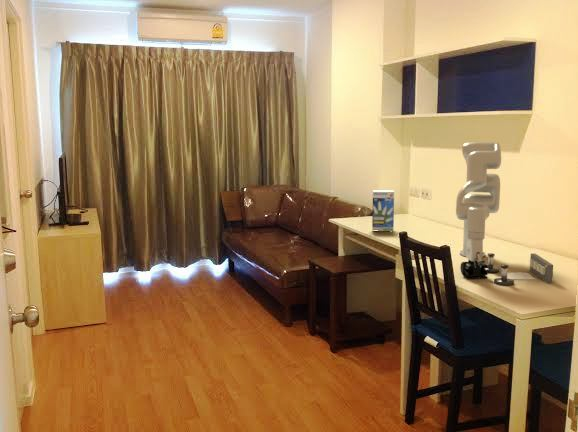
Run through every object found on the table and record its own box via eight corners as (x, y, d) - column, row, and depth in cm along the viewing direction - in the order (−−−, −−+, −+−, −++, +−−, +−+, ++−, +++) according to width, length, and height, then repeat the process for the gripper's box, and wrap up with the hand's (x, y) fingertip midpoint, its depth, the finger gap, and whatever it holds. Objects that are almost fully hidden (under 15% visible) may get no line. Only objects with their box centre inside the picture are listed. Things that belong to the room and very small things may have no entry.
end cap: (480, 273, 249) (481, 259, 248) (488, 278, 243) (489, 263, 241) (459, 274, 248) (460, 260, 247) (466, 279, 241) (467, 264, 240)
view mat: (500, 273, 249) (500, 272, 249) (527, 273, 249) (527, 272, 248) (507, 279, 239) (507, 279, 239) (535, 279, 239) (535, 278, 239)
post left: (478, 268, 258) (479, 252, 257) (495, 268, 258) (496, 252, 257) (485, 273, 250) (485, 255, 249) (502, 272, 250) (503, 255, 249)
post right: (491, 280, 239) (492, 262, 238) (510, 280, 239) (511, 262, 238) (497, 286, 232) (498, 267, 230) (516, 286, 231) (517, 267, 230)
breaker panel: (527, 270, 253) (528, 253, 252) (534, 270, 253) (535, 253, 252) (544, 283, 234) (545, 264, 232) (552, 283, 234) (553, 264, 232)
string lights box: (372, 231, 346) (372, 191, 342) (373, 229, 353) (373, 189, 349) (393, 232, 343) (393, 191, 338) (393, 230, 350) (394, 190, 346)
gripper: (461, 230, 251) (460, 267, 254) (472, 239, 234) (470, 279, 237) (478, 230, 250) (477, 267, 253) (490, 239, 233) (488, 278, 236)
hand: (474, 272), depth 245 cm, fingers closed on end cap, 7 cm apart
